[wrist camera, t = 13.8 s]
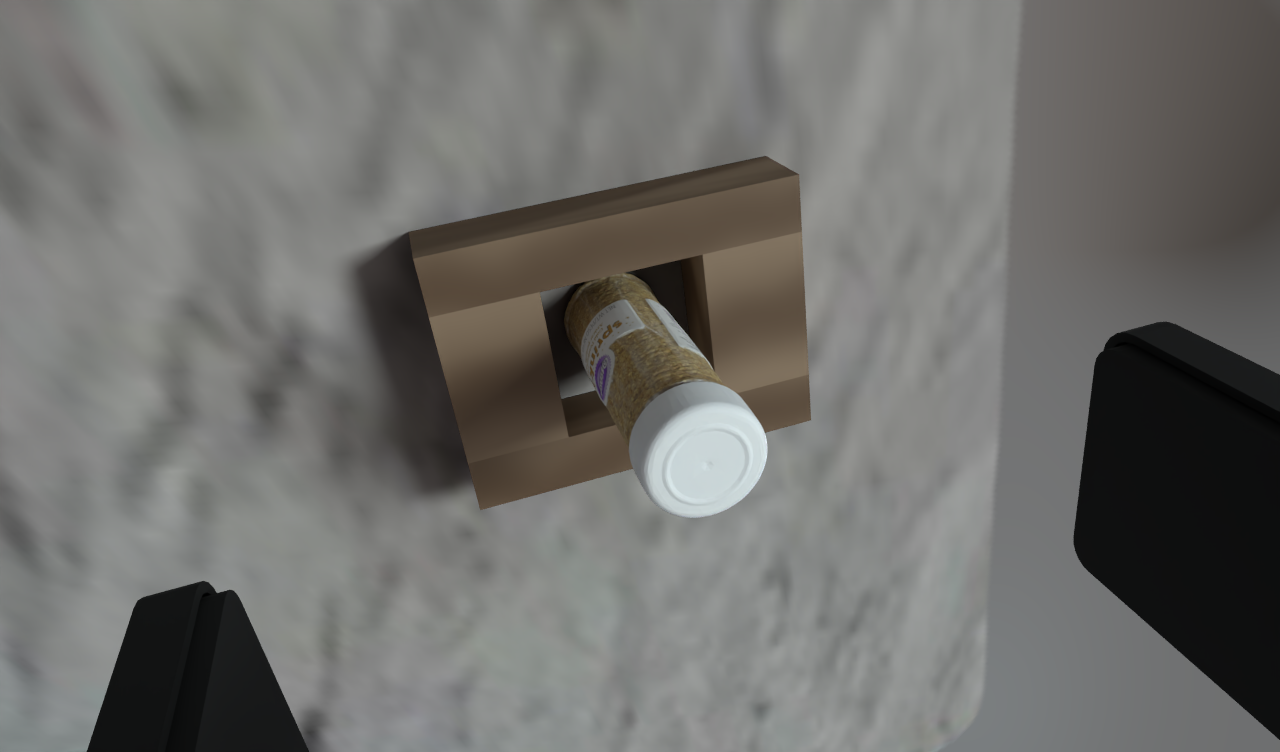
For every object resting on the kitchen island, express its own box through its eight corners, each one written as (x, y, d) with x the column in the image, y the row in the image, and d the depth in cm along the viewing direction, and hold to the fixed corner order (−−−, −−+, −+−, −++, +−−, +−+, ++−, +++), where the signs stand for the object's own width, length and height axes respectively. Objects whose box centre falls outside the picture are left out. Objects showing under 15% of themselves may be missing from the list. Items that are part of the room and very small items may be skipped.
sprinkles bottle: (556, 278, 40) (637, 421, 29) (654, 260, 41) (771, 392, 30) (568, 369, 42) (648, 536, 31) (661, 350, 43) (773, 506, 32)
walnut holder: (408, 232, 38) (412, 258, 34) (765, 156, 40) (798, 174, 37) (471, 469, 43) (480, 510, 40) (781, 387, 46) (810, 420, 43)
